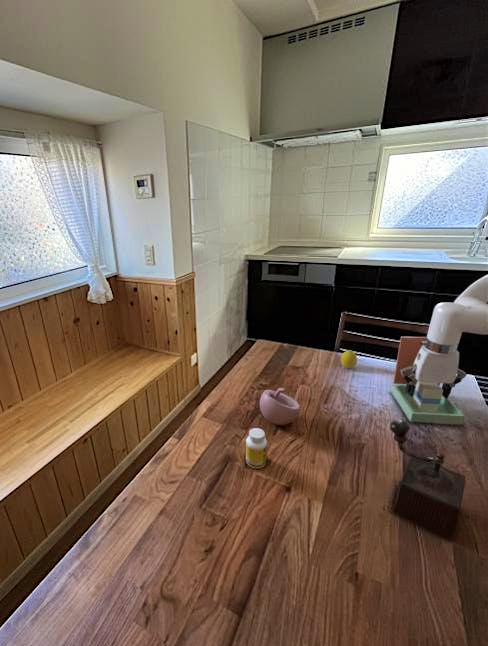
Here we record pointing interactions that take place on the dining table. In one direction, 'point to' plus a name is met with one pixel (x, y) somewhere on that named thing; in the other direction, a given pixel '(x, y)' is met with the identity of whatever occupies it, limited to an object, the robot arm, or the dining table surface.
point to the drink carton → (427, 396)
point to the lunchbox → (444, 414)
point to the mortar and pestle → (278, 407)
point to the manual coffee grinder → (427, 489)
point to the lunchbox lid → (407, 356)
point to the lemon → (348, 359)
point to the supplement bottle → (256, 448)
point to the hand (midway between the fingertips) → (426, 394)
